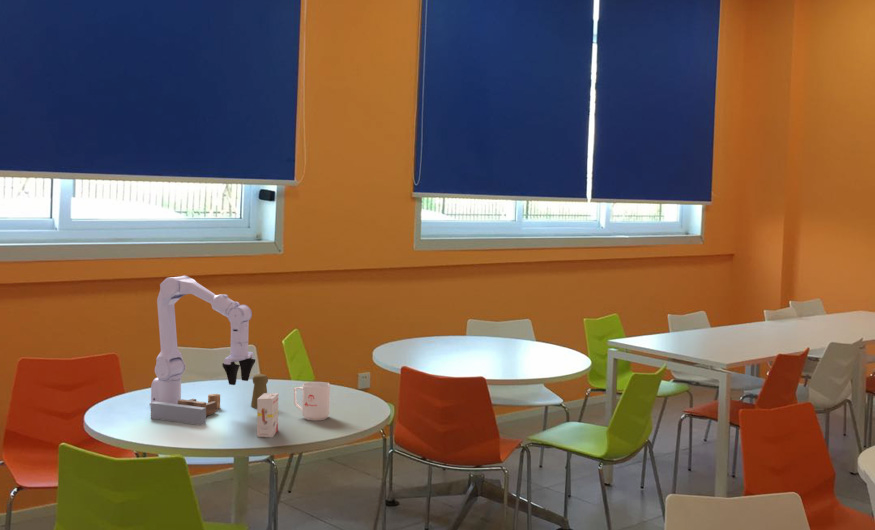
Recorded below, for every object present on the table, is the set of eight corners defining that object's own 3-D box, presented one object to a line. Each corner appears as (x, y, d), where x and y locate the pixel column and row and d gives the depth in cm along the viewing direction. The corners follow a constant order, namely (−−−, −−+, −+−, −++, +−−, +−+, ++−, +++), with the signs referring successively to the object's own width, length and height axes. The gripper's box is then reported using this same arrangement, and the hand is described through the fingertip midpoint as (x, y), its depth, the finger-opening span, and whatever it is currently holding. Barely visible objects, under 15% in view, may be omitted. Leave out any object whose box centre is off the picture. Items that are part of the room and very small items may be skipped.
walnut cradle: (177, 414, 292) (177, 400, 292) (192, 409, 300) (192, 395, 300) (202, 417, 289) (202, 403, 289) (216, 412, 297) (216, 398, 296)
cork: (264, 408, 305) (265, 376, 304) (248, 407, 306) (248, 375, 305) (271, 405, 311) (272, 373, 310) (255, 403, 312) (255, 372, 311)
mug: (332, 415, 298) (333, 382, 297) (324, 422, 289) (325, 388, 288) (298, 413, 300) (298, 380, 299) (289, 419, 291) (289, 385, 291)
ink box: (262, 429, 277) (263, 392, 276) (278, 430, 277) (279, 392, 276) (256, 437, 269) (256, 398, 268) (272, 437, 269) (273, 398, 268)
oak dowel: (205, 408, 302) (205, 395, 302) (212, 406, 306) (212, 393, 306) (215, 410, 301) (215, 396, 301) (222, 407, 305) (222, 394, 304)
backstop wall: (150, 418, 287) (150, 402, 287) (155, 416, 289) (155, 401, 289) (201, 425, 281) (201, 409, 280) (205, 423, 283) (205, 407, 282)
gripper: (237, 346, 289) (236, 387, 290) (261, 340, 303) (260, 379, 304) (218, 344, 291) (218, 385, 292) (243, 338, 305) (242, 377, 306)
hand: (238, 382), depth 298 cm, fingers open, 7 cm apart
